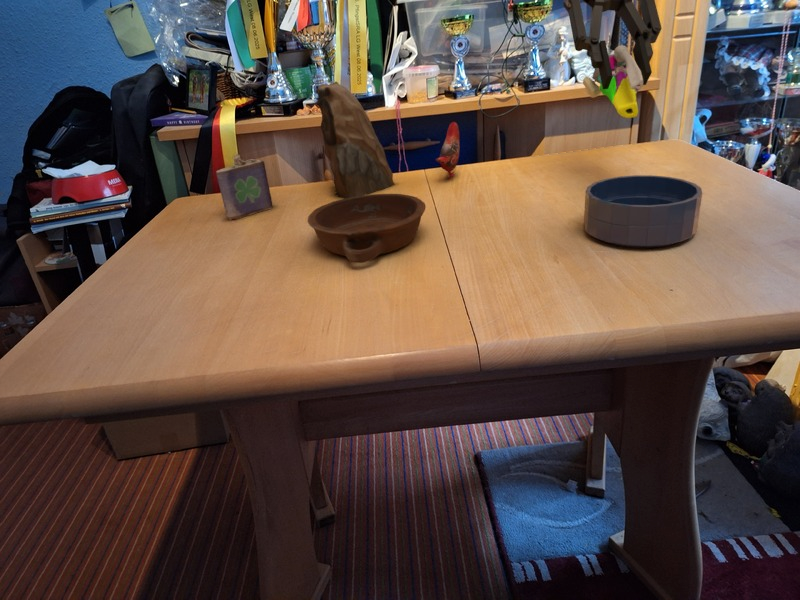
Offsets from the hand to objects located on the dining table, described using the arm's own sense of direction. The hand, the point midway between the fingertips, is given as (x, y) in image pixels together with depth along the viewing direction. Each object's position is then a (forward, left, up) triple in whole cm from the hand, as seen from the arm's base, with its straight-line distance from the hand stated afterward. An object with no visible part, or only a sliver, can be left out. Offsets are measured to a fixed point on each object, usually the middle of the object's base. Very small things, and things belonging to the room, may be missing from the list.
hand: (626, 80), depth 82 cm
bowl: (+6, +13, -18) cm, 23 cm away
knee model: (-1, -4, -4) cm, 5 cm away
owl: (+37, -32, -18) cm, 52 cm away
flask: (+59, -28, -18) cm, 67 cm away
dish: (+41, -2, -18) cm, 45 cm away
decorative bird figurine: (+20, -28, -18) cm, 38 cm away
